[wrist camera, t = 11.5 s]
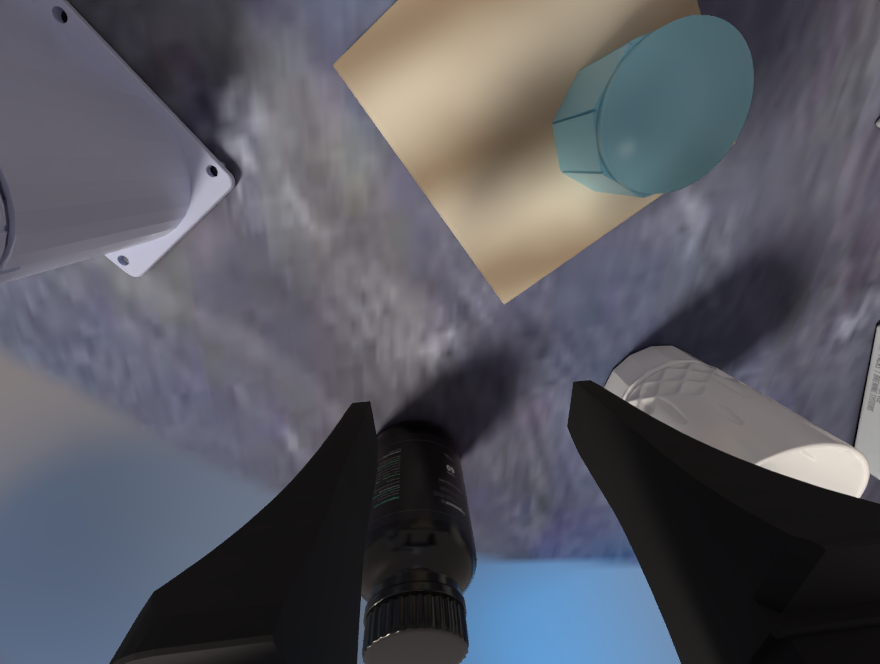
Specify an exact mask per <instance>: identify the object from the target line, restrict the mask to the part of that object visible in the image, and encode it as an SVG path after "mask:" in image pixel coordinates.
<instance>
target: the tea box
mask: <svg viewBox="0 0 880 664" xmlns="http://www.w3.org/2000/svg"><path fill="white" fill-rule="evenodd" d="M854 448H856V449H858V450H859V451H860V452H862V453H863V454H864V455H865V457H866V458H867V460H868V462H869V466H870V474H871V475H873V476H874V477H876V478H877V479H879V480H880V324H879V325H878V326H877V328H876V334H875V341H874V345H873V351H872V356H871V361H870V367H869V372H868V378H867V383H866V388H865V394H864V399H863V405H862V410H861V415H860V420H859V426H858V431H857V436H856V441H855V446H854Z"/></svg>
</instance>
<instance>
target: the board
mask: <svg viewBox="0 0 880 664" xmlns="http://www.w3.org/2000/svg"><path fill="white" fill-rule="evenodd" d="M691 15H701V12H700V9H699V5H698V1H697V0H398V1H397V2H396V3H395V4H394V5H393V6H392V7H391V8H390V9H389V10H388V11H387V12H386V13H385V14H384V15H383V16H382V17H381V18H380V19H379V20H378V21H377V22H376V23H375V24H374V25H373V26H372V27H371V28H370V29H369V30H368V31H367V32H366V33H365V34H364V35H363V36H362V37H361V38H360V39H358V40H357V41H356V42H355V43H354V44H353V45H352V46H351V47H350V48H349V49H348V50H347V51H346V52H345V53H344V54H343V55H342V56H341V57H340V58H339V59H338V60H337V61H336V62H335V63H334V64H333V66H334V68H335V69H336V70H337V72H338V73H339V74H340V76H341V77H342V79H343V80H344V81H345V83H346V84H347V86H348V87H349V88H350V90H351V91H352V93H353V94H354V95H355V97H356V98H357V100H358V101H359V102H360V104H361V105H362V107H363V108H364V109H365V111H366V112H367V114H368V115H369V116H370V118H371V119H372V121H373V122H374V123H375V125H376V126H377V128H378V129H379V130H380V132H381V133H382V135H383V136H384V137H385V139H386V140H387V142H388V143H389V144H390V146H391V147H392V149H393V150H394V151H395V153H396V154H397V156H398V157H399V158H400V160H401V161H402V163H403V164H404V165H405V167H406V168H407V169H408V171H409V172H410V174H411V175H412V176H413V178H414V179H415V181H416V182H417V183H418V185H419V186H420V188H421V189H422V190H423V192H424V193H425V195H426V196H427V197H428V199H429V200H430V202H431V203H432V204H433V206H434V207H435V209H436V210H437V211H438V213H439V214H440V216H441V217H442V218H443V220H444V221H445V223H446V224H447V225H448V227H449V228H450V230H451V231H452V232H453V234H454V235H455V237H456V238H457V239H458V241H459V242H460V244H461V245H462V246H463V248H464V249H465V251H466V252H467V253H468V255H469V256H470V258H471V259H472V260H473V262H474V263H475V265H476V266H477V267H478V269H479V270H480V271H481V273H482V274H483V276H484V277H485V278H486V280H487V281H488V283H489V284H490V285H491V287H492V288H493V290H494V291H495V292H496V294H497V295H498V297H499V298H500V299H501V301H502V302H503V304H506V303H507V302H509V301H510V300H512V299H513V298H514V297H516V296H517V295H519V294H520V293H522V292H523V291H524V290H526V289H527V288H529V287H530V286H532V285H533V284H534V283H536V282H537V281H539V280H540V279H542V278H543V277H545V276H546V275H547V274H549V273H550V272H552V271H553V270H555V269H556V268H557V267H559V266H560V265H562V264H563V263H565V262H566V261H568V260H569V259H570V258H572V257H573V256H575V255H576V254H578V253H579V252H580V251H582V250H583V249H585V248H586V247H588V246H589V245H590V244H592V243H593V242H595V241H596V240H598V239H599V238H601V237H602V236H603V235H605V234H606V233H608V232H609V231H611V230H612V229H613V228H615V227H616V226H618V225H619V224H621V223H622V222H624V221H625V220H626V219H628V218H629V217H631V216H632V215H634V214H635V213H636V212H638V211H639V210H641V209H642V208H644V207H645V206H646V205H648V204H649V203H651V202H652V201H654V200H655V199H657V198H658V197H659V196H661V195H662V194H664V193H659V194H653V195H651V196H648V197H646V198H640V197H633V196H625V195H618V194H610V193H602V192H595V191H593V190H591V189H589V188H588V187H586V186H584V185H582V184H581V183H579V182H577V181H575V180H574V179H572V178H570V177H568V176H567V175H565V174H563V173H562V171H560V166H559V161H558V155H557V150H556V144H555V138H554V133H553V127H552V124H555V123H554V122H553V120H554V118H555V116H556V114H557V112H558V110H559V108H560V106H561V104H562V102H563V100H564V98H565V96H566V94H567V92H568V90H569V88H570V86H571V84H572V82H573V81H574V79H575V77H576V75H577V73H578V72H579V71H580V70H581V69H583V68H584V67H586V66H588V65H590V64H591V63H593V62H595V61H597V60H598V59H600V58H602V57H604V56H605V55H607V54H609V53H611V52H612V51H614V50H616V49H617V48H619V47H621V46H623V45H624V44H626V43H628V42H630V41H631V40H633V39H636V38H638V37H641V36H643V35H645V34H648V33H650V32H653V31H655V30H657V29H659V28H661V27H663V26H665V25H667V24H669V23H671V22H673V21H675V20H678V19H681V18H683V17H687V16H691ZM735 143H737V142H736V140H735V142H734V143H733V145H734V144H735ZM733 145H732V146H733Z"/></svg>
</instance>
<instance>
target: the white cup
mask: <svg viewBox="0 0 880 664" xmlns="http://www.w3.org/2000/svg"><path fill="white" fill-rule="evenodd" d="M604 388H605V389H607V390H608V391H610V392H612V393H613V394H615V395H617V396H618V397H620V398H622V399H623V400H625V401H627V402H628V403H630V404H632V405H633V406H635V407H637V408H638V409H640V410H642V411H643V412H645V413H647V414H649V415H650V416H652V417H654V418H656V419H657V420H659V421H661V422H663V423H665V424H667V425H669V426H671V427H672V428H674V429H676V430H678V431H680V432H682V433H684V434H686V435H688V436H690V437H692V438H694V439H696V440H698V441H701V442H703V443H705V444H707V445H709V446H712V447H714V448H716V449H718V450H720V451H723V452H725V453H728V454H730V455H732V456H735V457H737V458H740V459H742V460H745V461H747V462H750V463H753V464H755V465H758V466H760V467H763V468H766V469H768V470H771V471H774V472H777V473H780V474H782V475H785V476H788V477H791V478H794V479H797V480H800V481H803V482H806V483H809V484H812V485H815V486H819V487H822V488H825V489H829V490H832V491H836V492H839V493H843V494H846V495H850V496H853V497H857V498H860V497H861V495H862V494H863V492H864V490H865V488H866V486H867V484H868V481H869V477H870V466H869V462H868V460H867V458H866V457H865V455H864V454H863V453H862V452H860V451H859V450H858V449H856V448H854V447H853V446H851V445H849V444H847V443H846V442H844V441H842V440H841V439H839V438H837V437H835V436H834V435H832V434H830V433H829V432H827V431H825V430H823V429H822V428H820V427H818V426H817V425H815V424H813V423H811V422H810V421H808V420H806V419H805V418H803V417H801V416H800V415H798V414H796V413H795V412H793V411H791V410H789V409H788V408H786V407H784V406H783V405H781V404H779V403H778V402H776V401H774V400H773V399H771V398H769V397H768V396H766V395H764V394H763V393H761V392H759V391H757V390H755V389H752V388H750V387H749V386H747V385H746V384H744V383H743V382H741V381H739V380H737V379H736V378H734V377H732V376H729V375H728V374H726V373H724V372H723V371H721V370H719V369H718V368H716V367H714V366H710V365H707V364H705V363H704V362H702V361H700V360H699V359H697V358H695V357H694V356H692V355H691V354H689V353H687V352H685V351H683V350H681V349H678V348H676V347H674V346H650V347H648V348H646V349H643V350H641V351H638V352H636V353H634V354H631V355H629V356H628V357H627V358H626V359H625V360H624V361H623V362H621V363H620V364H619V365H618V366H617V367H616V368H615V369H614V370H613V371H612V373H611V375H610V377H609V379H608V381H607V383H606V385H605V386H604Z"/></svg>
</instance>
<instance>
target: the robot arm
mask: <svg viewBox="0 0 880 664" xmlns="http://www.w3.org/2000/svg"><path fill="white" fill-rule="evenodd" d="M63 11H65V12H66V14H67V17H68V20H67V22H66V23H64V22H63V20H62V17H61V14H62V12H63ZM211 166H214V167H216V169H217V170H218V175H217V176H216V177H215V176H214V175H212V173H211V171H210V168H211ZM234 186H235V179H234V177H233V175H232V174H231V173H230V172H229V171H228V170H227V168H226V167H225V166H224V165H223V164H222V163H221V162H220V161H219V160H218V159H217V158H216V157H215V156H214V155H213V154H212V153H211V152H210V151H209V150H208V148H207V147H206V146H205V145H204V144H203V143H202V142H201V141H200V140H199V139H198V138H197V137H196V136H195V135H194V134H193V133H192V132H191V131H190V130H189V128H188V127H187V126H186V125H185V124H184V123H183V122H182V121H181V120H180V119H179V118H178V117H177V116H176V115H175V114H174V113H173V112H172V111H171V110H170V109H169V107H168V106H167V105H166V104H165V103H164V102H163V101H162V100H161V99H160V98H159V97H158V96H157V95H156V94H155V93H154V92H153V91H152V90H151V89H150V87H149V86H148V85H147V84H146V83H145V82H144V81H143V80H142V79H141V78H140V77H139V76H138V75H137V74H136V73H135V72H134V71H133V70H132V69H131V67H130V66H129V65H128V64H127V63H126V62H125V61H124V60H123V59H122V58H121V57H120V56H119V55H118V54H117V53H116V52H115V51H114V50H113V49H112V48H111V46H110V45H109V44H108V43H107V42H106V41H105V40H104V39H103V38H102V37H101V36H100V35H99V34H98V33H97V32H96V31H95V30H94V29H93V28H92V26H91V25H90V24H89V23H88V22H87V21H86V20H85V19H84V18H83V17H82V16H81V15H80V14H79V13H78V12H77V11H76V10H75V9H74V8H73V6H72V5H71V4H70V3H69V2H68V1H67V0H0V284H3V283H6V282H10V281H13V280H17V279H20V278H24V277H27V276H31V275H34V274H38V273H41V272H45V271H48V270H52V269H55V268H59V267H62V266H66V265H69V264H73V263H76V262H80V261H83V260H87V259H90V258H94V257H98V256H101V255H105V256H106V257H107V258H109V259H110V260H111V261H112V262H114V263H115V264H116V265H117V266H119V267H120V268H121V269H122V270H124V271H125V272H126V273H127V274H129V275H131V276H134V277H139V276H142V275H144V274H146V273H147V272H148V271H149V270H150V269H151V268H152V267H153V266H154V265H155V264H156V263H157V262H158V261H159V260H160V259H161V258H162V257H163V256H164V255H165V254H166V253H168V252H169V251H170V250H171V249H172V248H173V247H174V246H175V245H176V244H177V243H178V242H179V241H180V240H181V239H182V238H183V237H184V236H185V235H186V234H187V233H188V232H189V231H190V230H191V229H192V228H193V227H194V226H195V225H196V224H197V223H198V222H199V221H200V220H201V219H202V218H203V217H205V216H206V215H207V214H208V213H209V212H210V211H211V210H212V209H213V208H214V207H215V206H216V205H217V204H218V203H219V202H220V201H221V200H222V199H223V198H224V197H225V196H226V195H227V194H228V193H229V192H230V191H231V190H232V189H233V188H234ZM123 256H125V257H126V258H127V259H128V260H129V263H127V262H126V261H125V260H124V258H123ZM567 427H568V429H569V432H570V434H571V437H572V439H573V441H574V444H575V446H576V448H577V450H578V452H579V454H580V456H581V458H582V459H583V461H584V463H585V465H586V466H587V468H588V470H589V471H590V473H591V475H592V476H593V478H594V480H595V481H596V483H597V485H598V486H599V488H600V490H601V491H602V493H603V495H604V496H605V498H606V499H607V501H608V503H609V504H610V506H611V508H612V509H613V511H614V513H615V515H616V517H617V518H618V520H619V522H620V524H621V526H622V528H623V530H624V532H625V534H626V536H627V538H628V540H629V543H630V545H631V547H632V549H633V551H634V553H635V555H636V557H637V559H638V562H639V564H640V566H641V568H642V570H643V573H644V575H645V577H646V579H647V582H648V584H649V586H650V588H651V590H652V593H653V595H654V598H655V600H656V602H657V605H658V607H659V610H660V612H661V614H662V617H663V619H664V621H665V623H666V626H667V629H668V631H669V633H670V636H671V639H672V641H673V644H674V646H675V649H676V652H677V654H678V657H679V659H680V662H681V664H880V504H878V503H874V502H871V501H867V500H864V499H860V498H857V497H853V496H850V495H846V494H843V493H839V492H836V491H832V490H829V489H825V488H822V487H819V486H815V485H812V484H809V483H806V482H803V481H800V480H797V479H794V478H791V477H788V476H785V475H782V474H780V473H777V472H774V471H771V470H768V469H766V468H763V467H760V466H758V465H755V464H753V463H750V462H747V461H745V460H742V459H740V458H737V457H735V456H732V455H730V454H728V453H725V452H723V451H720V450H718V449H716V448H714V447H712V446H709V445H707V444H705V443H703V442H701V441H698V440H696V439H694V438H692V437H690V436H688V435H686V434H684V433H682V432H680V431H678V430H676V429H674V428H672V427H671V426H669V425H667V424H665V423H663V422H661V421H659V420H657V419H656V418H654V417H652V416H650V415H649V414H647V413H645V412H643V411H642V410H640V409H638V408H637V407H635V406H633V405H632V404H630V403H628V402H627V401H625V400H623V399H622V398H620V397H618V396H617V395H615V394H613V393H612V392H610V391H608V390H607V389H605V388H603V387H602V386H600V385H598V384H596V383H594V382H593V381H591V380H588V381H578V382H573V389H572V396H571V403H570V411H569V418H568V425H567ZM377 466H378V441H377V435H376V430H375V425H374V419H373V414H372V409H371V403H370V401H369V402H359V403H352V404H351V405H350V407H349V408H348V410H347V411H346V412H345V414H344V415H343V417H342V418H341V420H340V421H339V423H338V424H337V425H336V427H335V428H334V430H333V431H332V432H331V434H330V435H329V436H328V438H327V439H326V440H325V442H324V443H323V444H322V446H321V447H320V448H319V450H318V451H317V452H316V453H315V454H314V456H313V457H312V458H311V459H310V460H309V462H308V463H307V464H306V465H305V466H304V468H303V469H302V470H301V471H300V472H299V473H298V474H297V476H296V477H295V478H294V479H293V480H292V481H291V482H290V483H289V484H288V485H287V486H286V487H285V488H284V489H283V490H282V491H281V492H280V493H279V494H278V495H277V496H276V497H275V498H274V499H273V500H272V501H271V502H270V503H269V504H268V505H267V506H265V507H264V508H263V509H262V510H261V511H260V512H259V513H258V514H257V515H255V516H254V517H253V518H252V519H251V520H250V521H249V522H248V523H246V524H245V525H244V526H243V527H242V528H240V529H239V530H238V531H237V532H236V533H234V534H233V535H232V536H231V537H229V538H228V539H227V540H226V541H224V542H223V543H222V544H220V545H219V546H218V547H216V548H215V549H214V550H213V551H211V552H210V553H209V554H207V555H206V556H205V557H203V558H202V559H201V560H199V561H198V562H196V563H195V564H193V565H192V566H190V567H189V568H188V569H186V570H185V571H184V572H182V573H181V574H179V575H178V576H176V577H175V578H173V579H172V580H171V581H169V582H168V583H166V584H165V585H164V586H162V587H160V588H159V589H157V590H156V591H154V592H153V594H152V595H151V597H150V598H149V600H148V602H147V603H146V604H145V606H144V607H143V609H142V610H141V612H140V614H139V615H138V617H137V618H136V620H135V622H134V623H133V625H132V627H131V629H130V630H129V632H128V633H127V635H126V637H125V638H124V640H123V642H122V643H121V646H120V647H119V649H118V650H117V652H116V654H115V655H114V657H113V659H112V660H111V662H110V664H357V652H358V634H359V617H360V601H361V587H362V575H363V562H364V551H365V543H366V536H367V530H368V525H369V519H370V513H371V507H372V501H373V495H374V489H375V483H376V477H377Z"/></svg>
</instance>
